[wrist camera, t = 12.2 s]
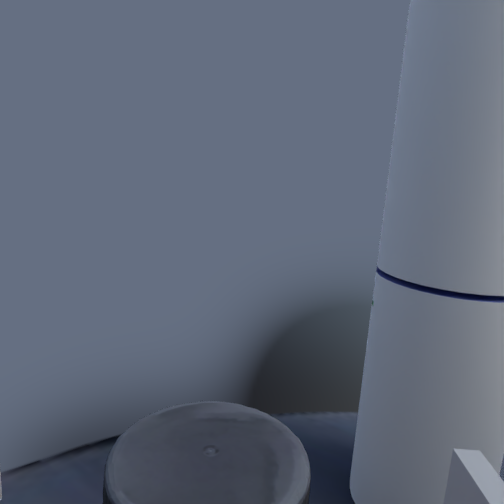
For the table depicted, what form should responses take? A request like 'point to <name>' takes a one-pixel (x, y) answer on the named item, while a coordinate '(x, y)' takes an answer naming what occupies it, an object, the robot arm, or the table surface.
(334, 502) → the table surface
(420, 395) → the cylindrical container
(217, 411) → the supplement bottle
